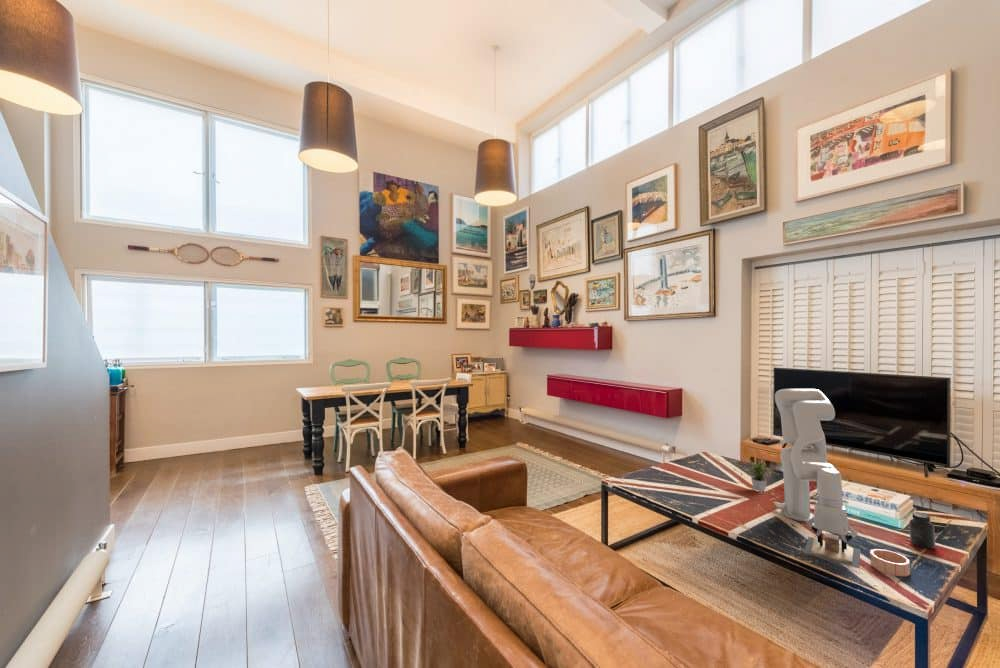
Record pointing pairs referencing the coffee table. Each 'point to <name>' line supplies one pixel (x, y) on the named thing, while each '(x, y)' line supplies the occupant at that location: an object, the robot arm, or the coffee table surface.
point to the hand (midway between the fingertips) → (832, 547)
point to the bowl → (890, 562)
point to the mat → (855, 558)
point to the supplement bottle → (922, 531)
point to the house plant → (758, 476)
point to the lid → (832, 549)
